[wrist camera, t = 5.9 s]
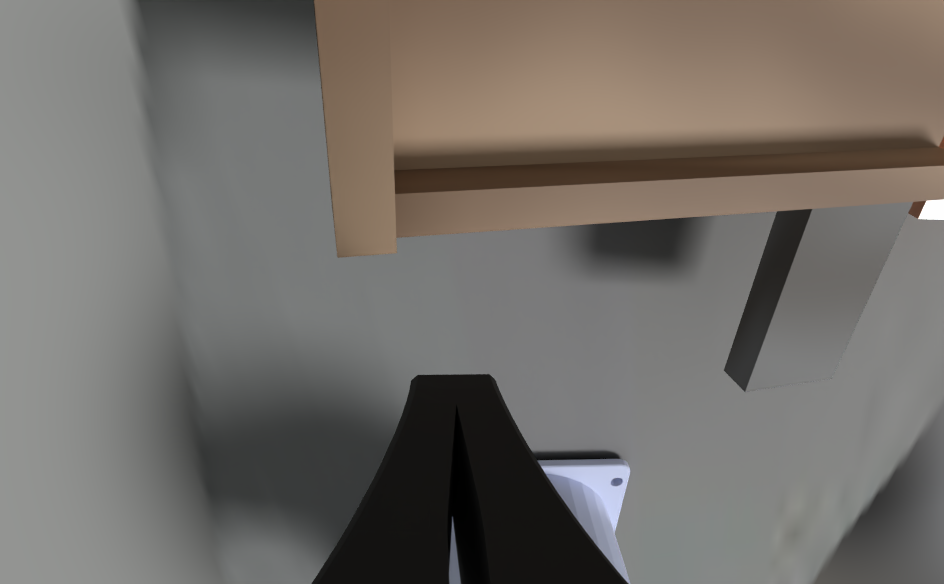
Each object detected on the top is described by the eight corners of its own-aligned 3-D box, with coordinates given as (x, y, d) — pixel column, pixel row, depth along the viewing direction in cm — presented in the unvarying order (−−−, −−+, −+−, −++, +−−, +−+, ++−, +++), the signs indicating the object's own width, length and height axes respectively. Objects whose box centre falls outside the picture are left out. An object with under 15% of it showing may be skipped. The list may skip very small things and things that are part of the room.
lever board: (807, 358, 18) (870, 410, 16) (351, 422, 15) (359, 497, 13) (1030, -169, 11) (1186, -194, 9) (290, -261, 8) (284, -327, 6)
